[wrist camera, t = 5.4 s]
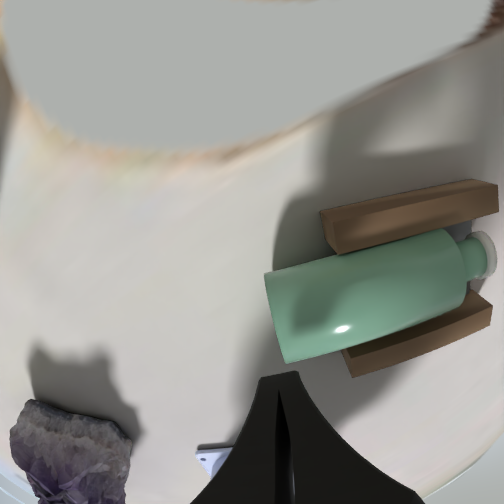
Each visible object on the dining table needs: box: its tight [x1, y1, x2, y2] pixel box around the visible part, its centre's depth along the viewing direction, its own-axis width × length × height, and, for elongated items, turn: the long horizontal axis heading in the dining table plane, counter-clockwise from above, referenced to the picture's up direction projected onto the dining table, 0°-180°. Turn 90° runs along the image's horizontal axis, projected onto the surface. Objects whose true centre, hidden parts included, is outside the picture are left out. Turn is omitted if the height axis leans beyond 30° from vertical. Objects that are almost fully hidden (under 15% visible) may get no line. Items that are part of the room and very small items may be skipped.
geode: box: [10, 399, 132, 504], centre depth 19 cm, size 20×12×10 cm, turn 159°
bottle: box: [264, 228, 497, 364], centre depth 14 cm, size 4×4×12 cm
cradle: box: [320, 179, 499, 378], centre depth 15 cm, size 9×10×2 cm
